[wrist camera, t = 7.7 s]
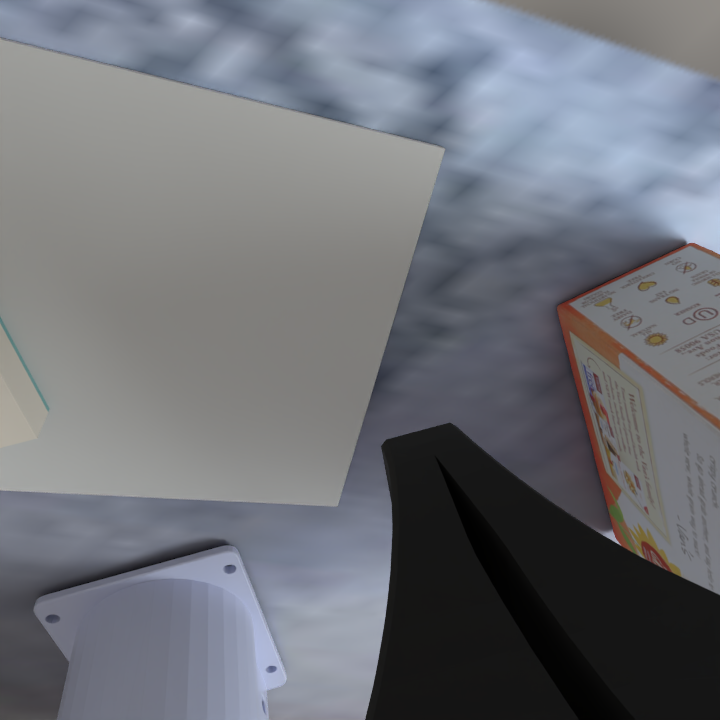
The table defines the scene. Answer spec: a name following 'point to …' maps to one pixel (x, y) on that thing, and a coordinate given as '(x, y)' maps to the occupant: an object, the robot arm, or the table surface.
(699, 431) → the cracker box
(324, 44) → the table surface
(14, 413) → the tile
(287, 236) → the mat
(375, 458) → the table surface
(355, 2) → the table surface
